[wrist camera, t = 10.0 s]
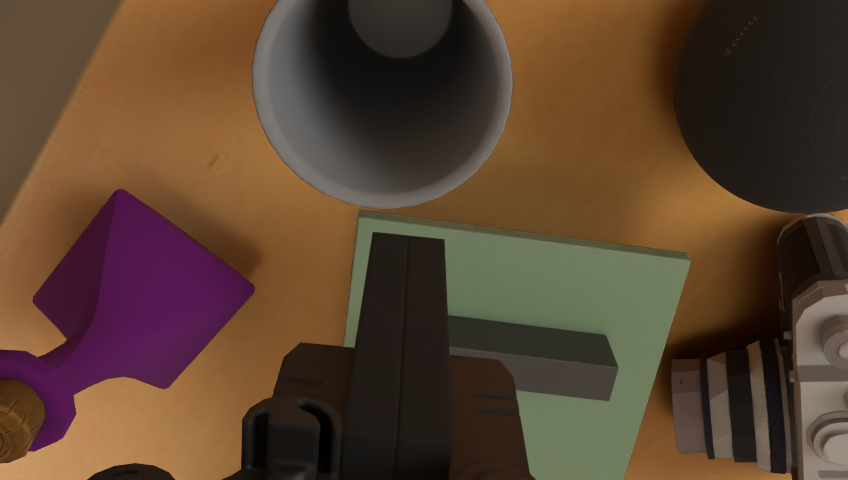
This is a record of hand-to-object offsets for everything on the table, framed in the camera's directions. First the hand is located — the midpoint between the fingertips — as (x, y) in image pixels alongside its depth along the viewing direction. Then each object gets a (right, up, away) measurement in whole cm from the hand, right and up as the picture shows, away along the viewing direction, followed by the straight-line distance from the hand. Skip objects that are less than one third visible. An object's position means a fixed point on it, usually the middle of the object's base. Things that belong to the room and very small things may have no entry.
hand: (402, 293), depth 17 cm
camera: (+17, -5, +25) cm, 31 cm away
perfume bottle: (-12, 0, +23) cm, 26 cm away
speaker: (+15, +9, +19) cm, 26 cm away
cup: (-1, +11, +18) cm, 21 cm away
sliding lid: (+4, -4, +17) cm, 18 cm away
